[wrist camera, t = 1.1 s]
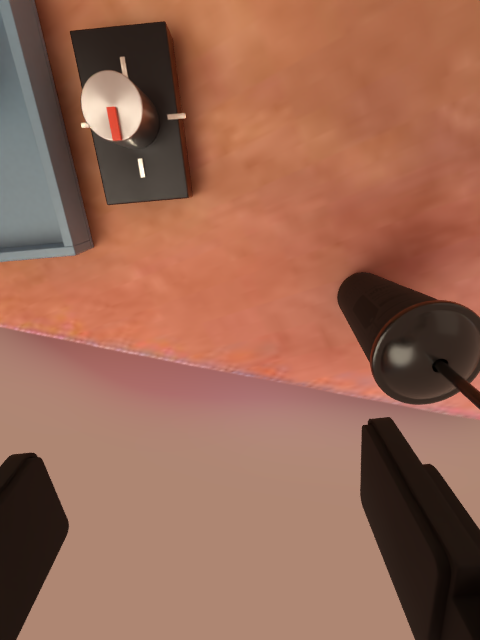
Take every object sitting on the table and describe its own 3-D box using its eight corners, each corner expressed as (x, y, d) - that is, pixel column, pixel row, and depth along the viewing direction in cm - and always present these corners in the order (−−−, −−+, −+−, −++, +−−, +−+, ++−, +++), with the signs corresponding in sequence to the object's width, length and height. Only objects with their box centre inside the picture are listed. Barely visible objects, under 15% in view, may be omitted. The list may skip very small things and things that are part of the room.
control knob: (102, 93, 26) (70, 71, 21) (154, 88, 26) (135, 65, 21) (113, 151, 27) (86, 143, 22) (163, 146, 27) (147, 138, 22)
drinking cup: (332, 337, 37) (428, 491, 18) (316, 271, 34) (411, 373, 16) (402, 317, 36) (577, 456, 18) (392, 248, 34) (586, 327, 15)
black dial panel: (78, 47, 27) (59, 30, 24) (179, 36, 27) (173, 18, 24) (111, 204, 32) (99, 205, 29) (199, 196, 32) (195, 197, 29)
